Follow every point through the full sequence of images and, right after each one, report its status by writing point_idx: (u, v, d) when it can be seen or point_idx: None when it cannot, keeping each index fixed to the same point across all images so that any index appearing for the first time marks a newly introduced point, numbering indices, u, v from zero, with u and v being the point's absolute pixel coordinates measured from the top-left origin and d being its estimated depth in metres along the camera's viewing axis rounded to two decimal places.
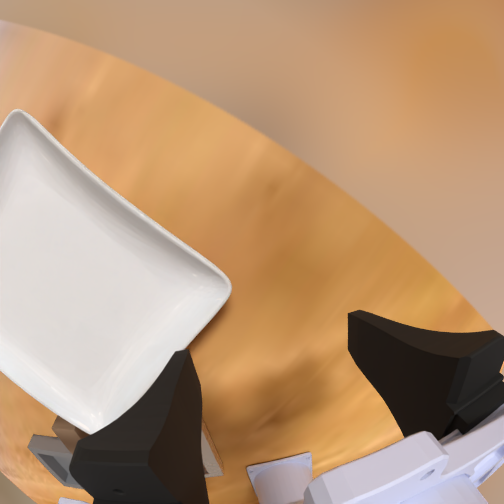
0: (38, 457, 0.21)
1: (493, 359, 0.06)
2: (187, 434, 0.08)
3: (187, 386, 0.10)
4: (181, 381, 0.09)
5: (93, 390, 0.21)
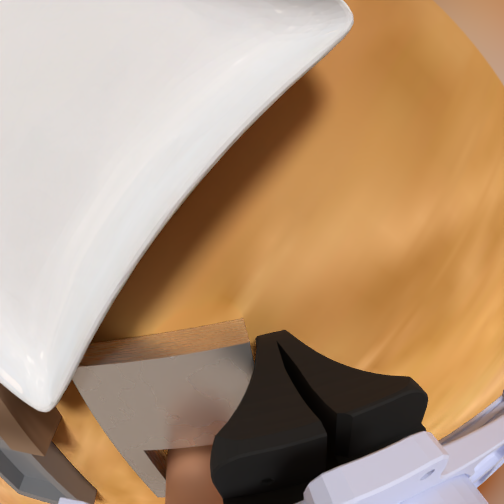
0: None
1: (400, 414, 0.05)
2: None
3: None
4: None
5: (31, 297, 0.10)
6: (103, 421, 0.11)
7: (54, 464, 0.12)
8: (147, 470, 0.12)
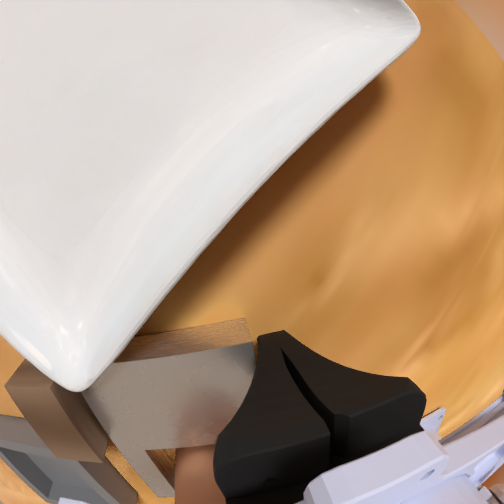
0: None
1: (398, 415, 0.05)
2: None
3: None
4: None
5: (77, 258, 0.10)
6: (104, 420, 0.11)
7: (99, 469, 0.12)
8: (148, 470, 0.12)
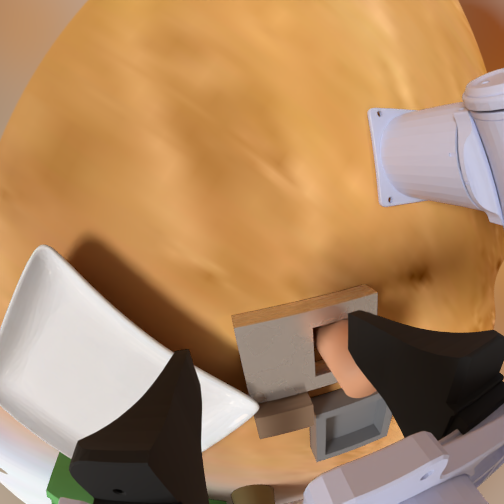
0: (333, 454, 0.26)
1: (492, 359, 0.06)
2: (187, 434, 0.08)
3: (187, 386, 0.10)
4: (181, 381, 0.09)
5: None
6: (289, 393, 0.23)
7: (343, 398, 0.25)
8: None
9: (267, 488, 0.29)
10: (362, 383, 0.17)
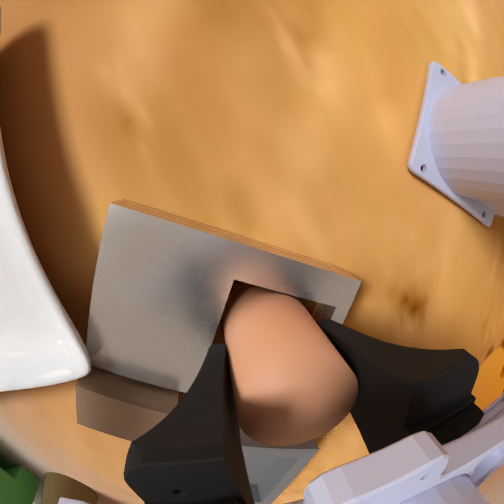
0: None
1: (459, 381, 0.05)
2: (233, 427, 0.08)
3: (228, 379, 0.10)
4: (224, 374, 0.09)
5: (24, 294, 0.11)
6: (148, 378, 0.13)
7: None
8: None
9: (89, 492, 0.17)
10: (280, 417, 0.08)
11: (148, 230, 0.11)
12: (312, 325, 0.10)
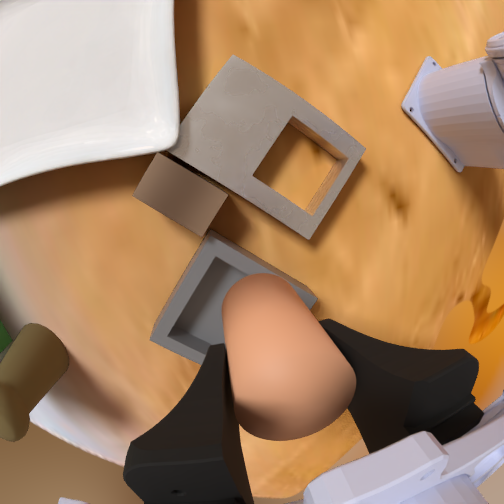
0: (176, 347, 0.20)
1: (459, 381, 0.05)
2: (233, 428, 0.08)
3: (227, 379, 0.10)
4: (224, 374, 0.09)
5: (132, 98, 0.17)
6: (210, 170, 0.18)
7: (250, 256, 0.21)
8: (272, 200, 0.19)
9: (63, 353, 0.21)
10: (277, 409, 0.08)
11: (251, 74, 0.17)
12: (314, 321, 0.10)
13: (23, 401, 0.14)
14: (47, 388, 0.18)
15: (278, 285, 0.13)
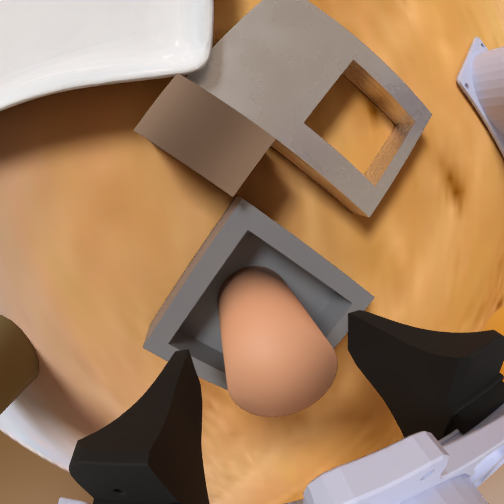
0: None
1: (493, 359, 0.06)
2: (187, 434, 0.08)
3: (187, 386, 0.10)
4: (181, 381, 0.09)
5: (149, 21, 0.11)
6: (248, 109, 0.12)
7: None
8: (328, 159, 0.13)
9: (31, 355, 0.15)
10: (265, 385, 0.09)
11: (304, 7, 0.11)
12: (300, 307, 0.12)
13: None
14: (9, 400, 0.12)
15: (269, 276, 0.14)
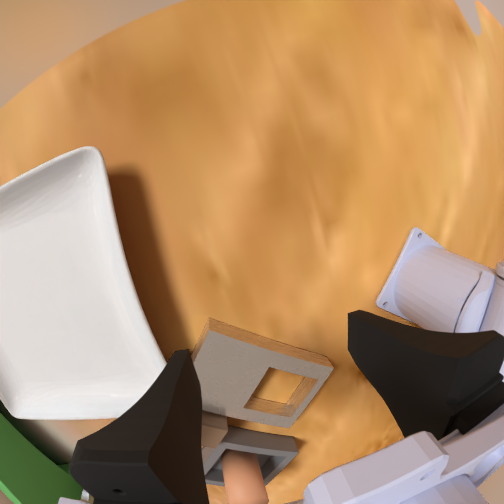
0: (209, 482, 0.25)
1: (492, 359, 0.06)
2: (187, 434, 0.08)
3: (187, 386, 0.10)
4: (181, 381, 0.09)
5: (135, 363, 0.21)
6: (212, 409, 0.23)
7: (249, 439, 0.25)
8: (260, 416, 0.24)
9: None
10: None
11: (229, 344, 0.21)
12: (252, 477, 0.22)
13: None
14: None
15: (241, 456, 0.25)
